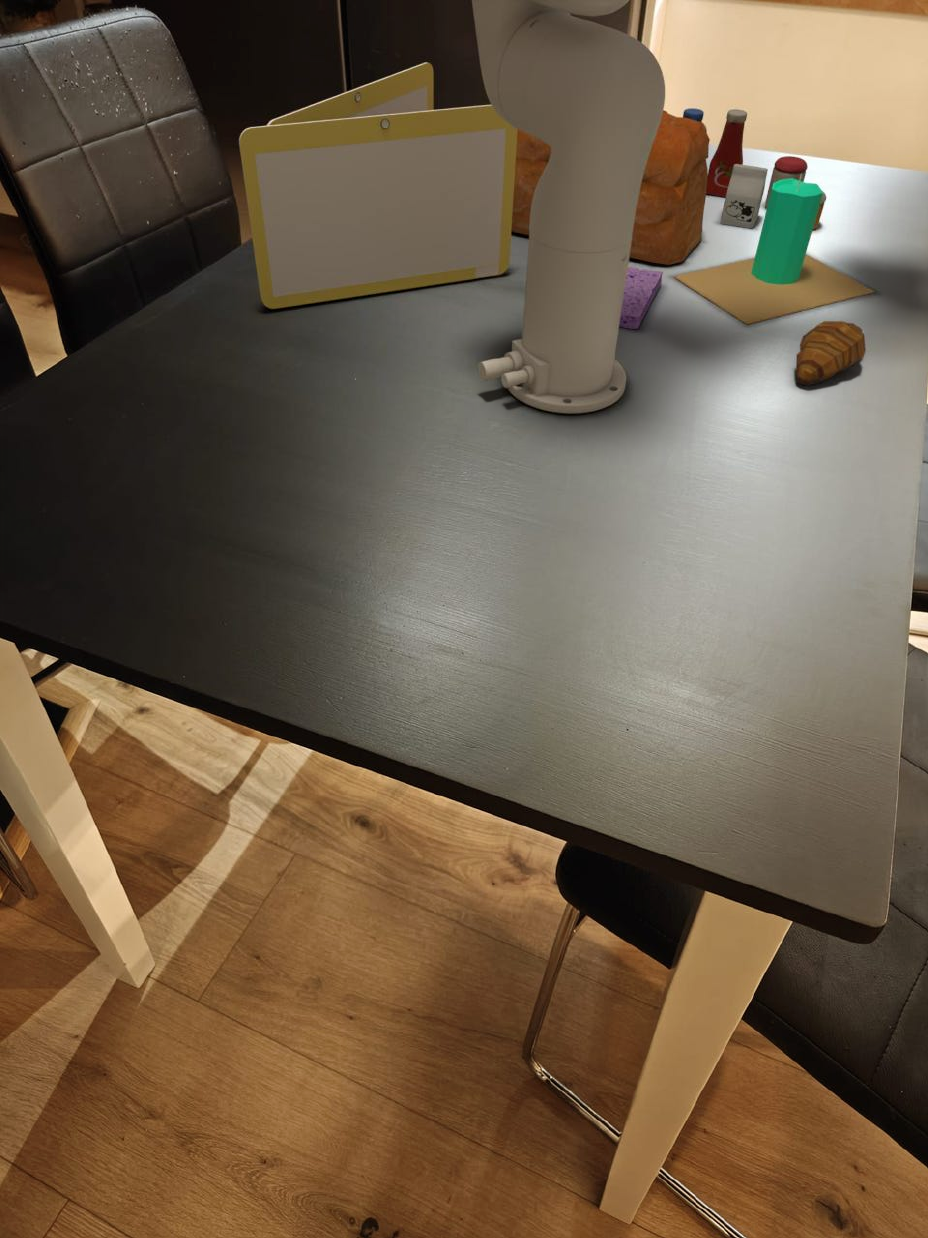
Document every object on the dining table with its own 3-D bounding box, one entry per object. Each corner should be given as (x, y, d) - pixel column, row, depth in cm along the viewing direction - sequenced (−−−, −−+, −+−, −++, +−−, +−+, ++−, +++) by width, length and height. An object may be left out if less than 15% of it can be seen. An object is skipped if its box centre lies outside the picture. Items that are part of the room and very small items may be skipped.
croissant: (831, 400, 93) (847, 355, 89) (770, 378, 96) (783, 334, 92) (880, 351, 100) (896, 308, 97) (822, 332, 103) (835, 290, 100)
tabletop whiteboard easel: (410, 211, 127) (407, 51, 113) (547, 247, 119) (561, 79, 105) (244, 307, 105) (214, 123, 91) (398, 358, 98) (391, 165, 84)
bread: (675, 272, 114) (699, 143, 104) (486, 230, 123) (490, 106, 112) (707, 234, 123) (732, 111, 112) (529, 197, 132) (536, 80, 121)
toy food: (623, 207, 130) (636, 114, 121) (645, 178, 138) (659, 90, 130) (813, 239, 123) (841, 143, 114) (825, 207, 131) (851, 115, 122)
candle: (790, 288, 111) (819, 186, 103) (744, 276, 113) (768, 175, 105) (805, 271, 115) (834, 171, 106) (759, 260, 117) (784, 161, 108)
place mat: (746, 325, 104) (747, 323, 104) (673, 277, 113) (674, 275, 113) (873, 292, 111) (874, 290, 111) (795, 249, 120) (796, 248, 120)
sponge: (660, 286, 111) (663, 271, 110) (637, 331, 103) (639, 315, 102) (605, 276, 113) (607, 261, 112) (578, 319, 105) (579, 304, 103)
